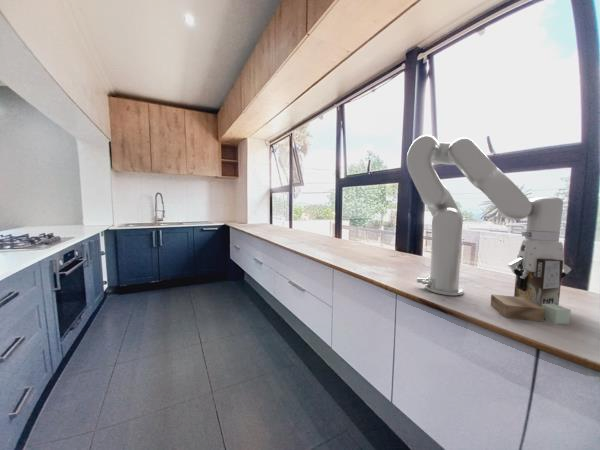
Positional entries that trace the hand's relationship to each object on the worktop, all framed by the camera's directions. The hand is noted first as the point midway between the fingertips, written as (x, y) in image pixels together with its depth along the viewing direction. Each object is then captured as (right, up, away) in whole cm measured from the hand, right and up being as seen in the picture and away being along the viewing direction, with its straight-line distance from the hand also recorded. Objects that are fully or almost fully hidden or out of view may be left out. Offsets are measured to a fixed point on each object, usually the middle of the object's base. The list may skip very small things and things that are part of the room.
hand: (536, 290), depth 78 cm
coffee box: (0, -5, 0) cm, 5 cm away
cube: (-4, -6, -9) cm, 12 cm away
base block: (-11, -6, -5) cm, 13 cm away
